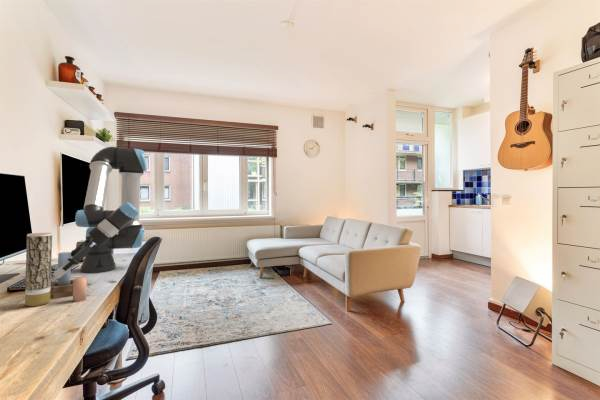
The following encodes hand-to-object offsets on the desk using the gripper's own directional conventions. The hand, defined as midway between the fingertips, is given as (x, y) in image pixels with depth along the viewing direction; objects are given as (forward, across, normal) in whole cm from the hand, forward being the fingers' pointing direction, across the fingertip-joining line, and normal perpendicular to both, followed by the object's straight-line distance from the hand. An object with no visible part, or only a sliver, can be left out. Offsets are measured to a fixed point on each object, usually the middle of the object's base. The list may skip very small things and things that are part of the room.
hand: (56, 272), depth 116 cm
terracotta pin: (+1, -12, -11) cm, 17 cm away
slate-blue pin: (+4, 0, -8) cm, 9 cm away
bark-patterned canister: (+10, -9, -3) cm, 13 cm away
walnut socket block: (+4, 0, -8) cm, 9 cm away
